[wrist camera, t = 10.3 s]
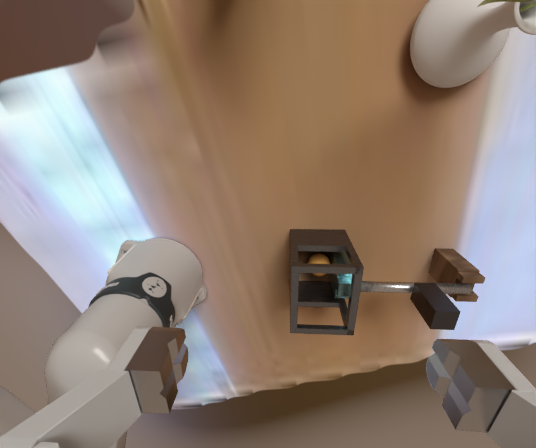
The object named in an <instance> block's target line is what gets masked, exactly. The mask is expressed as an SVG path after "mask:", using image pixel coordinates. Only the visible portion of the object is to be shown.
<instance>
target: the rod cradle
mask: <svg viewBox="0 0 536 448" xmlns="http://www.w3.org/2000/svg"><path fill="white" fill-rule="evenodd" d="M429 273H430V275H431V276H432V277H433V278H434V279H435V280H436V281H437V282H438V283H466V284H469V285H470V286H471V288H472V290H473V287H474V284H475V283H484V280H485V277H484V276H482V275H481V274H480V273H479V270H478V269H477V268H475V267H474V266H473V265H472V264H471V263H469V262H468V261H467V260H466V259H465V258H463V257H462V256H461V255H460V254H459V253H457V252H456V251H455V250H454V249H435V251H434V255H433V259H432V262H431V266H430V270H429ZM448 295H449V296H450V297H453V298H454V300H455V301H468V302H476V301H477V299H478V296H477V295H476V294H475V293H474V292H473V291H472V292H471V294H448Z"/></svg>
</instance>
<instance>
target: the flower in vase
mask: <svg viewBox="0 0 536 448" xmlns="http://www.w3.org/2000/svg"><path fill="white" fill-rule="evenodd" d="M512 27H518V28H519V29H520V30H521V31H523V32H525V33H527V34H532V35H536V0H429V1H428V2H427V4H426V5H425V6H424V8H423V9H422V11H421V12H420V14H419V16H418V18H417V20H416V22H415V25H414V28H413V31H412V35H411V41H410V55H411V60H412V64H413V67H414V69H415V71H416V72H417V74H418V75H419V76H420V78H422V79H423V80H424V81H425V82H427V83H428V84H430V85H432V86H435V87H440V88H451V87H457V86H460V85H463V84H465V83H467V82H469V81H471V80H473V79H475V78H476V77H477V76H479V75H480V74H481V73H482V72H484V71H485V70H486V69H487V68H488V67H489V66H490V65H491V64H492V63H493V62H494V61H495V59H496V58H497V57H498V55H499V54H500V52H501V51H502V49H503V47H504V45H505V43H506V41H507V38H508V35H509V32H510V28H512Z"/></svg>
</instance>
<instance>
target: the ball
mask: <svg viewBox="0 0 536 448" xmlns="http://www.w3.org/2000/svg"><path fill="white" fill-rule="evenodd" d="M308 264H330V261H329V259H328V258H327V257H326V256H325V255H323V254H314V255H312V256H311V257H310V258H309V260H308ZM312 274H313V275H315V276H323V275H325V274H327V273H312Z"/></svg>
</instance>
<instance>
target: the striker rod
mask: <svg viewBox="0 0 536 448" xmlns="http://www.w3.org/2000/svg"><path fill="white" fill-rule="evenodd" d="M330 264H351V263H350V261H349V258H348V256H347V254H346V252H331V258H330ZM329 277H330V281H331V285H332V289H333V293H334V296H335V298H349V295H350V288H351V280H352V274H333V273H329ZM360 292H391V293H412V294H411V298H410V299H411V301H412V302H413V304H414V305H415V307H416V308H417V310H418V311H419V313H420V314H421V316H422V317H423V319H424V320H425V322H426V323H427V325H428V326H429V328H430V329H445V330H454V328H455V326H456V323H457V320H458V317H459V314H460V311H459V310H458V309H457V307H456V306H455V305H454V304H453V303H452V302H451V301H450V299H449V298H448V297H447V296H446V295H445V294H471V292H472V288H471V286H470V285H469V284H466V283H420V282H375V281H362V282H361V288H360Z"/></svg>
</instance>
